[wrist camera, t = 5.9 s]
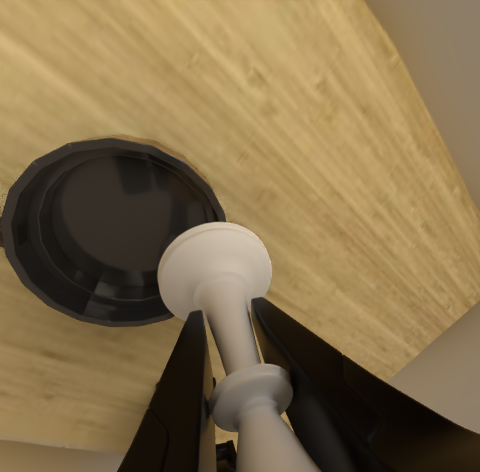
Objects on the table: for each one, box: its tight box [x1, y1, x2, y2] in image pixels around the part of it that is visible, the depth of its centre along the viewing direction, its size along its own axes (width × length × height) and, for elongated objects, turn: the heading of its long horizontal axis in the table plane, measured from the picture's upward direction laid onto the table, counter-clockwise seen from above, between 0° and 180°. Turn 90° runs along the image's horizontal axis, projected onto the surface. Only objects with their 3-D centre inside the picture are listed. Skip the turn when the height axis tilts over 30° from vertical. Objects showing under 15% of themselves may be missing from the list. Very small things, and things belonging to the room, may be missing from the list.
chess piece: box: [158, 222, 322, 472], centre depth 7 cm, size 5×5×10 cm
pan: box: [0, 135, 226, 327], centre depth 18 cm, size 13×13×4 cm
